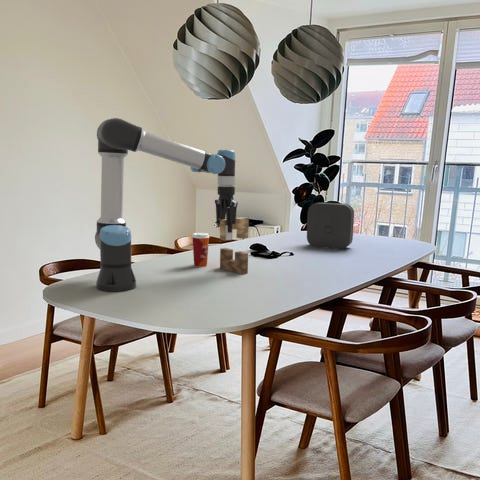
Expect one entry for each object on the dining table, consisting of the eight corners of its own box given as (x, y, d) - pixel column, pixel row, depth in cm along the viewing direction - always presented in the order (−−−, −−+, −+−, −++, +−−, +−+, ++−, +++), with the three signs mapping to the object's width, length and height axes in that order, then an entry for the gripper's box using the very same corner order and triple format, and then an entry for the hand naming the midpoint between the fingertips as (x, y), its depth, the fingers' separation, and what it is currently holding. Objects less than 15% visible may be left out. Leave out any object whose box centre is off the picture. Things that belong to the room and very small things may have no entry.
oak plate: (224, 240, 235) (224, 220, 233) (220, 239, 237) (220, 219, 235) (248, 237, 243) (248, 217, 242) (244, 236, 246) (244, 217, 244)
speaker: (352, 247, 306) (354, 204, 302) (349, 250, 298) (351, 205, 294) (309, 244, 315) (311, 201, 311) (305, 246, 308) (307, 202, 303)
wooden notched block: (247, 273, 237) (248, 253, 236) (242, 274, 236) (242, 253, 234) (225, 266, 249) (225, 247, 248) (220, 267, 248) (220, 248, 246)
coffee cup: (206, 267, 247) (207, 235, 244) (189, 266, 248) (189, 234, 246) (211, 264, 255) (211, 232, 252) (194, 263, 256) (194, 232, 254)
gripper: (244, 186, 229) (244, 240, 233) (221, 184, 241) (221, 236, 245) (231, 187, 225) (230, 242, 228) (208, 185, 237) (207, 237, 241)
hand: (225, 239), depth 237 cm, fingers closed on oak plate, 3 cm apart
